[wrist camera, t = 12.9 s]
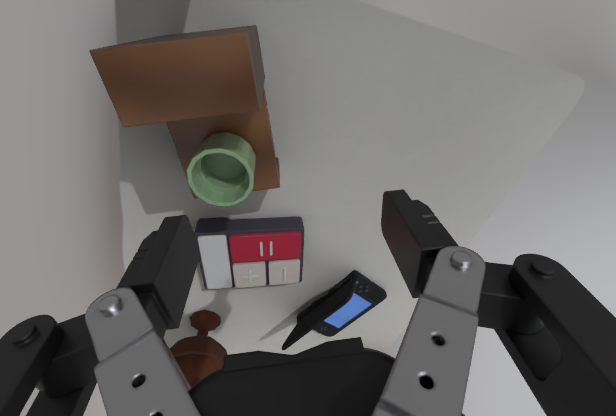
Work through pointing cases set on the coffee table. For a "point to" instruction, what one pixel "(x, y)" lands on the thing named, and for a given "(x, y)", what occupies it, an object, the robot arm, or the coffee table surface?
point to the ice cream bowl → (199, 349)
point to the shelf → (195, 91)
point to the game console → (338, 308)
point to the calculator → (250, 251)
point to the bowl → (222, 170)
